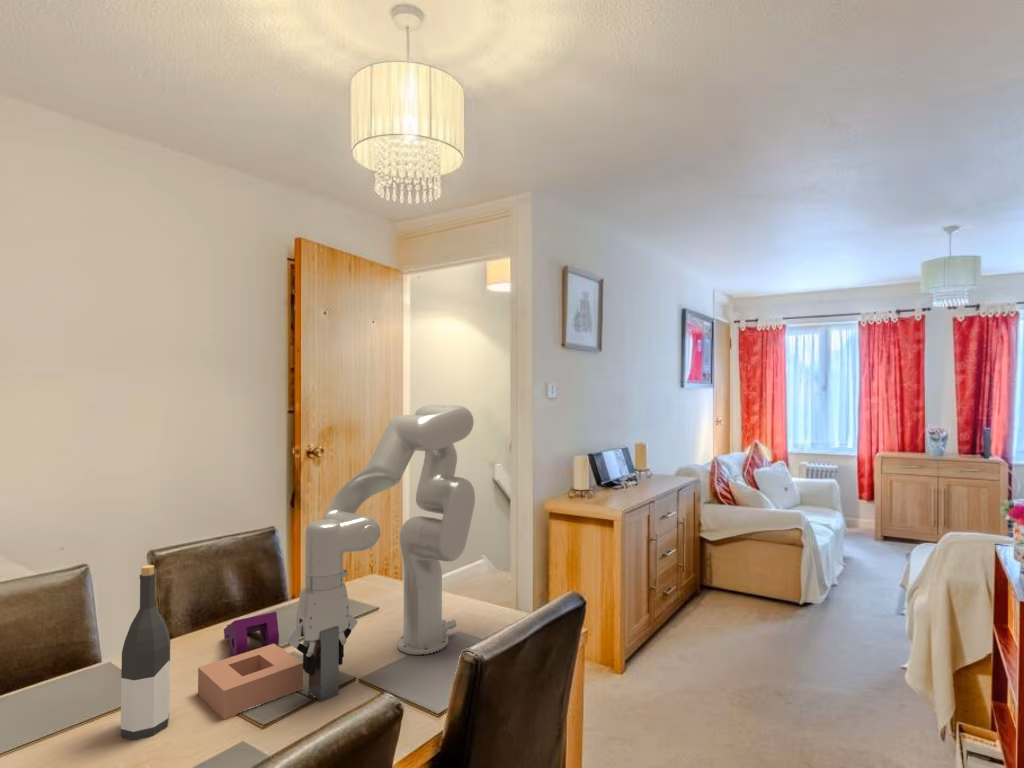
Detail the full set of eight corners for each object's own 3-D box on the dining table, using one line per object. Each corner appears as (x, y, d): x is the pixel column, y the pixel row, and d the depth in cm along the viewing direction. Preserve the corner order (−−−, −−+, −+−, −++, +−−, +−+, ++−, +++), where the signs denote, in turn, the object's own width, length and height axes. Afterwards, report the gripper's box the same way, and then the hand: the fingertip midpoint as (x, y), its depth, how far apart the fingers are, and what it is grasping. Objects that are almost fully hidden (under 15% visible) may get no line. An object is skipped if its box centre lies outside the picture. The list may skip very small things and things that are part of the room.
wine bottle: (135, 716, 111) (137, 560, 112) (178, 714, 112) (180, 559, 113) (109, 741, 103) (112, 573, 104) (156, 739, 104) (158, 572, 105)
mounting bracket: (223, 667, 145) (237, 658, 132) (220, 631, 148) (234, 620, 135) (263, 656, 150) (280, 647, 138) (259, 623, 154) (276, 611, 141)
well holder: (273, 667, 131) (273, 643, 132) (303, 689, 122) (303, 662, 122) (198, 694, 120) (198, 667, 120) (223, 719, 110) (223, 690, 110)
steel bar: (326, 686, 123) (326, 620, 123) (338, 694, 120) (338, 626, 120) (308, 693, 120) (309, 625, 120) (320, 701, 117) (321, 632, 117)
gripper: (351, 568, 129) (350, 649, 129) (275, 586, 117) (275, 676, 116) (369, 575, 124) (369, 659, 124) (293, 595, 112) (292, 689, 111)
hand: (323, 667), depth 120 cm, fingers open, 5 cm apart
